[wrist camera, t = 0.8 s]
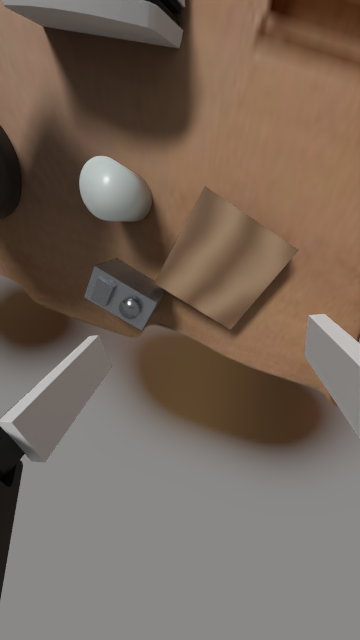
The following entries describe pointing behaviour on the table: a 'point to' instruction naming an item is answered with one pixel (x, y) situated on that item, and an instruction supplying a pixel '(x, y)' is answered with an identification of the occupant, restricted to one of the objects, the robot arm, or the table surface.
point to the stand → (222, 260)
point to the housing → (124, 292)
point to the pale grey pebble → (114, 191)
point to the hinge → (108, 18)
